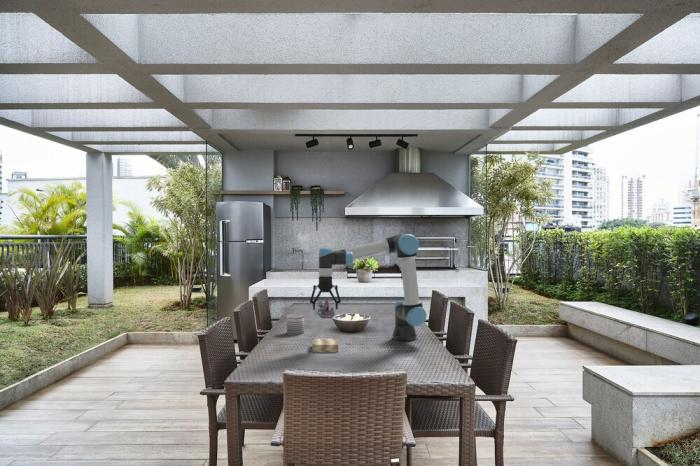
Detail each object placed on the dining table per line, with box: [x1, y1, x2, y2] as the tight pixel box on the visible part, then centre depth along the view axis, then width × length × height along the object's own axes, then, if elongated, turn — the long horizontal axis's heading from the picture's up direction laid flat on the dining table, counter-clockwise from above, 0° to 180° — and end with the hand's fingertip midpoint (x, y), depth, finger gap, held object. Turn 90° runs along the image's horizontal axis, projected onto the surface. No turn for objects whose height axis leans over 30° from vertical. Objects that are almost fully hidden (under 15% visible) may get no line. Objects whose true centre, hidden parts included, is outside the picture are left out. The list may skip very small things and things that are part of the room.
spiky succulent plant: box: [316, 297, 335, 319], centre depth 269 cm, size 11×11×12 cm
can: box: [286, 313, 305, 336], centre depth 310 cm, size 11×11×12 cm
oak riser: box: [311, 338, 339, 353], centre depth 268 cm, size 14×15×4 cm
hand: (325, 315), depth 268 cm, fingers closed on spiky succulent plant, 10 cm apart
